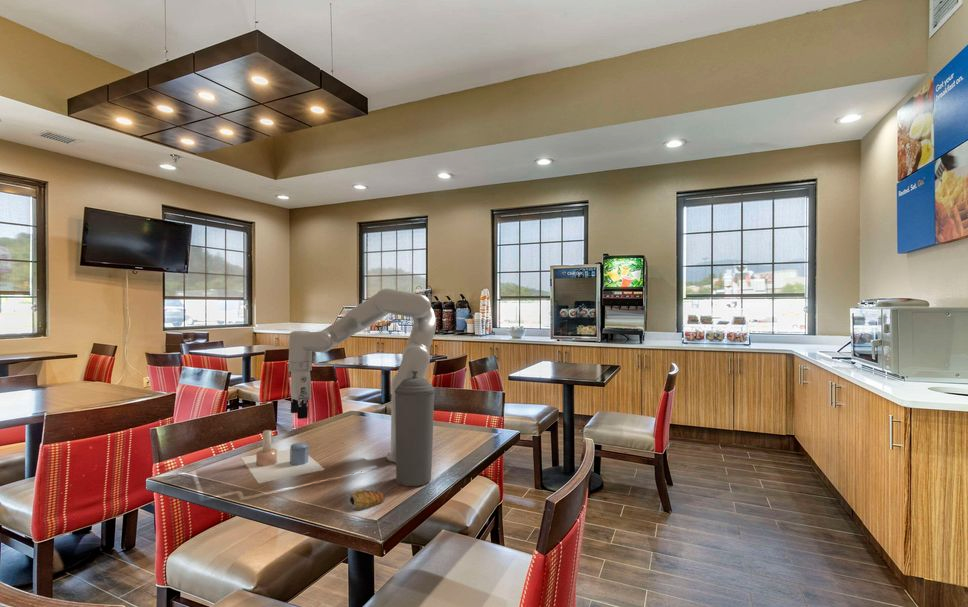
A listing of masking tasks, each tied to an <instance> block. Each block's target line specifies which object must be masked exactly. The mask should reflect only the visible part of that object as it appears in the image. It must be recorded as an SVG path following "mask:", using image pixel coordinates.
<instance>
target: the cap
mask: <svg viewBox="0 0 968 607" xmlns="http://www.w3.org/2000/svg"><path fill="white" fill-rule="evenodd" d="M289 449H290V464H291V465H296V466H298V465H303V464H306V463H307V462H308V455H309V444H308V443H307V442H298V443H292V444H291V445H290V448H289Z"/></svg>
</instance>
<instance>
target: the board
mask: <svg viewBox="0 0 968 607" xmlns="http://www.w3.org/2000/svg"><path fill="white" fill-rule="evenodd" d="M240 458H241V460H242V462H243V463H244V464H245V467H246V468H247V469H248V470H249V472H250V474H251V475H252V476H253V478H254V480H256V482H257V483H258V484H262V483H266V482H272V481H276V480H281V479H286V478H292V477H295V476H301V475H305V474H311V473H315V472H316V473H317V472H320V471H325V470H326V468H324V467H323V466H322V465H321V464H319V462H318V461H315V460H314V459H313V458H312V457H311V456H310V455H309V454H308V462H307V463H306V464H303V465H298V466H296V465H291V464H290V448H288V449H287V448H286V449H282V450H277V463H276V464H274V465H270V466H257V465H256V454H254V455H253V454H252V455H248V456H247V455H246V456H242V457H240Z"/></svg>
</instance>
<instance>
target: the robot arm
mask: <svg viewBox="0 0 968 607" xmlns="http://www.w3.org/2000/svg"><path fill="white" fill-rule="evenodd" d="M389 314H391V315H397V316H401V317H402V316H403V317H410V318H412V320H413V321H412V322H413V325H412V329H411V332H410V335H409V337H408V340H407V343H406V346H405V348H404V350H403V352H402V356H401V358H402V359H401V361H400V365H399V367H398V370H397V373H396V374H395V375H394V376H393V377H392V380H391V385H390V391H391V395H390V396H391V399H390V400H391V403H390V404H391V410H390V411H391V412H390V414H391V415H390V417H391V419H390V451H389V452H388V453H387V454H386V455H385V456H386V458H385V459H386V460H388V461H389V462H391V463H395V464H396V426H395V389H396V388H397V387H398V385H399V384H400V383H401V382H402V381H403V380H404V379H406V378H412V376H413V373H412V372H411V370H419V372H417V377H419V378H425V379H426V374H427V372H428V369H429V368H430V367H429V366H430V362H431V354H430V349H431V346H432V344H433V339H434V337H435V333H436V329H437V317H436V315H435V311H434V309H433V308H432V304H431V301H430V298H428V296H426V295H424V294H419V293H415V292H409V291H402V290H397V289H396V290H395V289H391V288H383V289H381V290H379V291H378V292H377V293H375V294H373V296H372V295H371V297H369V298H368V299H366V300H364V301H363V302H361V303H359V304H357V305H356V306H355V307H353V308H351V309H350V310H349V311H348V312H347V313H346V314H344V315H343V317H341V318H340V319H338V320H336V321H335V322H333V323H331V324H330V325H328V327H325V328H324V329H322V330H320V331H319V330H318V331H308V330H294V331H291V332H290V333H289V335H288V336H289V341H288V343H289V345H288V372H291V373H290V384H289V385H290V388H289V389H290V392H289V394H290V397H291V399H290V414H297V419H298V420H300V419H301V420H302V419H307V418H308V417H309V416H308V414H309V412H308V411H309V409H308V408H309V402H308V401H309V400H311V398H312V386H311V384H312V383H311V381H312V380H311V372H310V371H312V370H313V368H312V367H313V352H314V353H315V352H316V353H327V352H329V351H331V350H332V349H333V348H335V347H336V346H338V345H339V344H341V343H342V342H345V340H347V339H348V338H350V337H352V336H354V335H356V334H357V333H360V332H362V331H364V330H365V329H367V328H369V327H370V326H372V325H374V324H375V323H376V322H378V321H379V320H381V319H383V318H384V317H386V316H387V315H389Z"/></svg>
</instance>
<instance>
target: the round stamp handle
mask: <svg viewBox="0 0 968 607" xmlns="http://www.w3.org/2000/svg"><path fill="white" fill-rule="evenodd" d="M277 451H278V450H277V449H276V448H272V429H265V430H263V432H262V449H261V450H257V452H256V453H255V455H256V465H257V466H270V465H274V464H276V463H277Z"/></svg>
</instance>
